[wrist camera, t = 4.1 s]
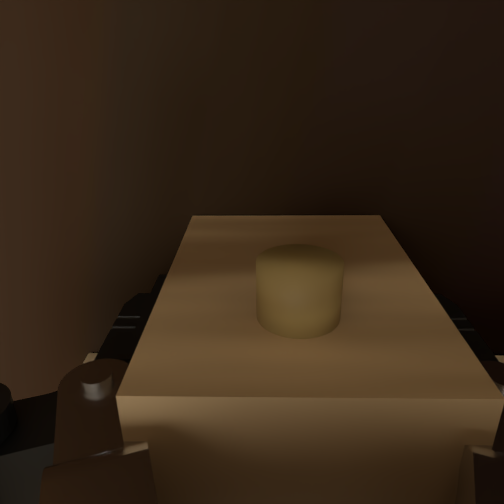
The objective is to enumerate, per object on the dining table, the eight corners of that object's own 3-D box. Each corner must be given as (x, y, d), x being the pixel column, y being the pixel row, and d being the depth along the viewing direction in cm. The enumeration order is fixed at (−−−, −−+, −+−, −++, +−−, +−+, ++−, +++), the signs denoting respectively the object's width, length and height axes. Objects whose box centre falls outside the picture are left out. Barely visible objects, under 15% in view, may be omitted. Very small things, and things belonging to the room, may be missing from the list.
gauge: (190, 179, 12) (104, 331, 6) (383, 178, 12) (523, 333, 5) (213, 527, 17) (184, 803, 11) (346, 529, 17) (394, 810, 11)
